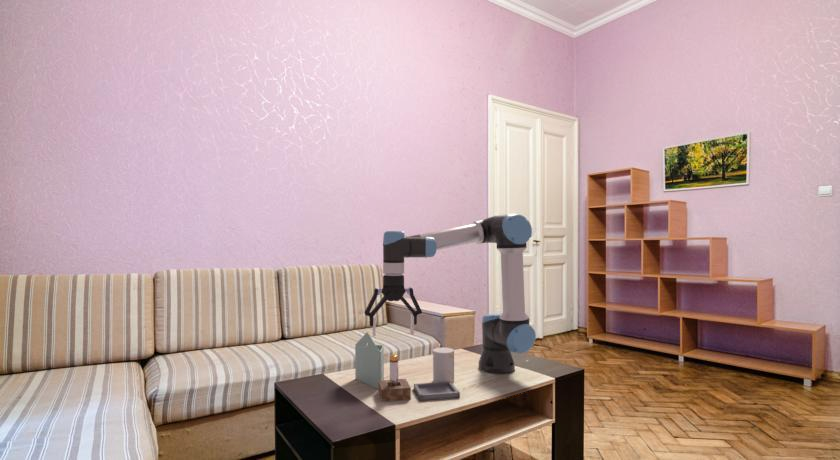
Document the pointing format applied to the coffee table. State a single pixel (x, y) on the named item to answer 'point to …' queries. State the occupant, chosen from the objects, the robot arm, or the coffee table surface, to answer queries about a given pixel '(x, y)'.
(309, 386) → the coffee table surface
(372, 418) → the coffee table surface
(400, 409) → the coffee table surface
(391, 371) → the pin
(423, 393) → the tray
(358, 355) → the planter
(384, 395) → the block
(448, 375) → the white cylinder
